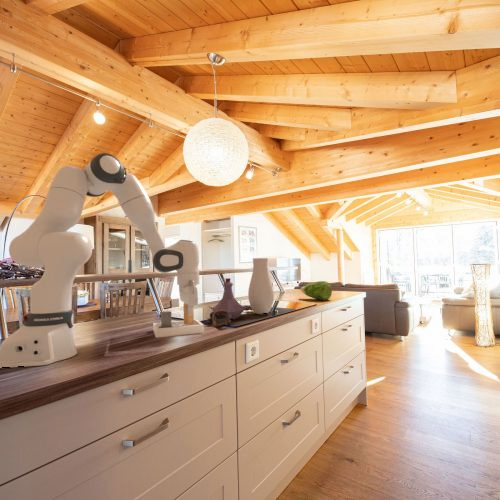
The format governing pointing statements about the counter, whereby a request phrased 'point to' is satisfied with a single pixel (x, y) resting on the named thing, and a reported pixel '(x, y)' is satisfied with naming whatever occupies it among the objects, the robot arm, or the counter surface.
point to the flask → (229, 302)
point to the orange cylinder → (187, 318)
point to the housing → (178, 329)
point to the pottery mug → (220, 318)
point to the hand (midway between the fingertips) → (188, 314)
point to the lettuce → (318, 290)
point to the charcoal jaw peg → (166, 319)
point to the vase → (260, 287)
